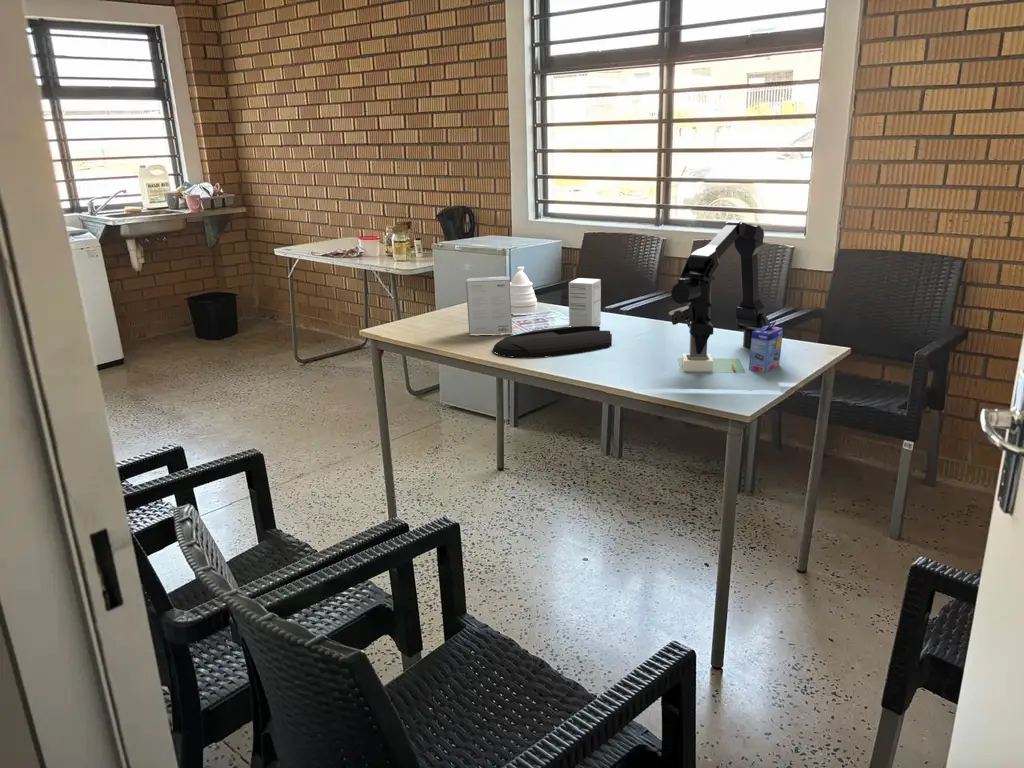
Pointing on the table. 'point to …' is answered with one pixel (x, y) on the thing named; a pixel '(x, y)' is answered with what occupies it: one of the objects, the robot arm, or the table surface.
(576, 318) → the supplement box
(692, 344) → the plug
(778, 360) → the ink cartridge box
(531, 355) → the docking station
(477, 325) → the hard drive box
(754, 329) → the robot arm
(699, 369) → the frame
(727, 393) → the table surface
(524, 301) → the honey pot
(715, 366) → the board
